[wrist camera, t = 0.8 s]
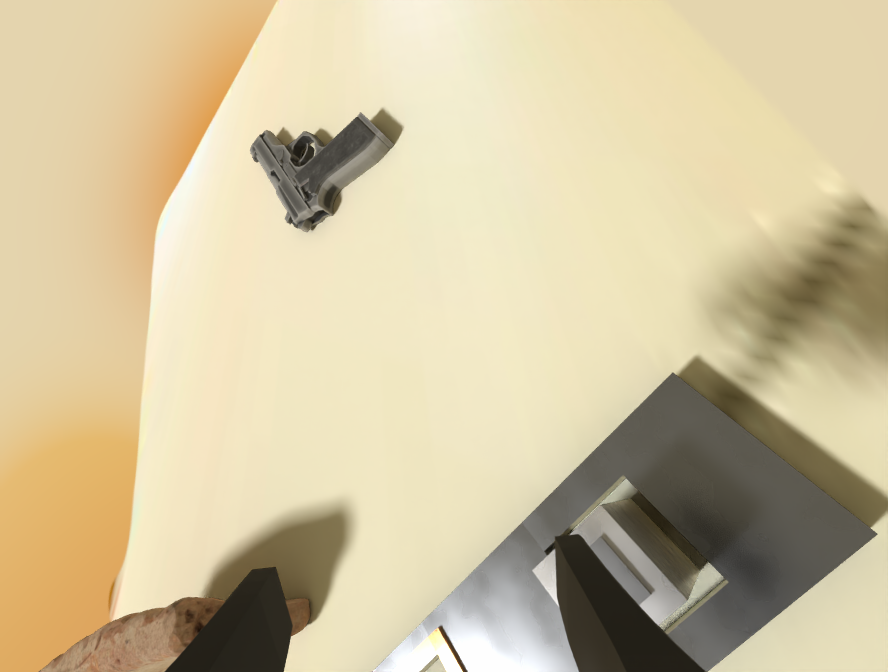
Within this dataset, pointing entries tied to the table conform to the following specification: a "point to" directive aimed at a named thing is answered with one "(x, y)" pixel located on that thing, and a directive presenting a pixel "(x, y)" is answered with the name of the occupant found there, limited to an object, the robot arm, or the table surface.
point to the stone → (152, 637)
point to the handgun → (318, 168)
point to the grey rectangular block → (633, 558)
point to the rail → (686, 507)
